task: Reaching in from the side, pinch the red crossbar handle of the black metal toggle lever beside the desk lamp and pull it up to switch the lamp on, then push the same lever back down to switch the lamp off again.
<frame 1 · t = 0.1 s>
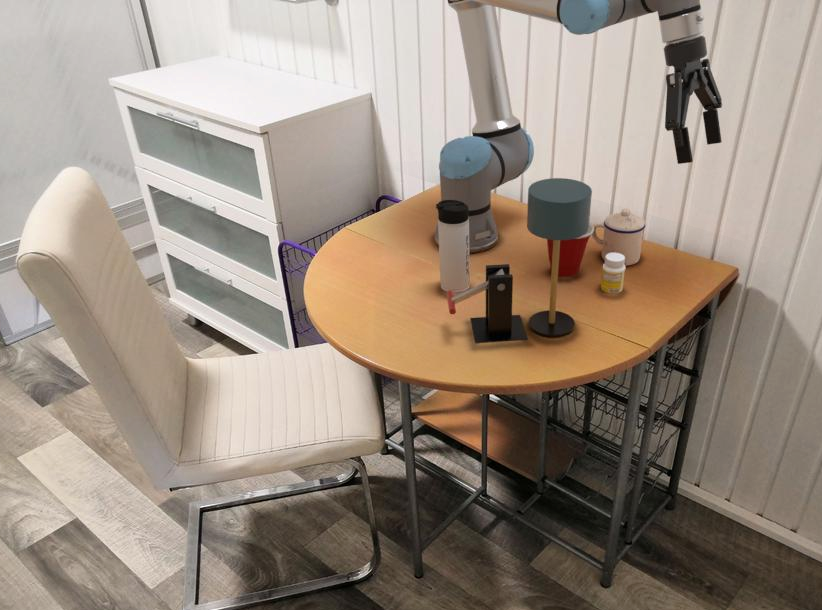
hand: (700, 152, 146), 28 cm above the table, tool tilted 20°, fingers open, 13 cm apart
switch base: (498, 333, 144), on the table
desk lamp: (551, 329, 145), on the table
plastic cup: (565, 275, 164), on the table
travel mug: (454, 291, 159), on the table
supplement bottle: (611, 293, 157), on the table
switch lever: (476, 289, 138), point 10 cm above the table, hinge at -25.0°
lidded enamel mug: (614, 257, 170), on the table
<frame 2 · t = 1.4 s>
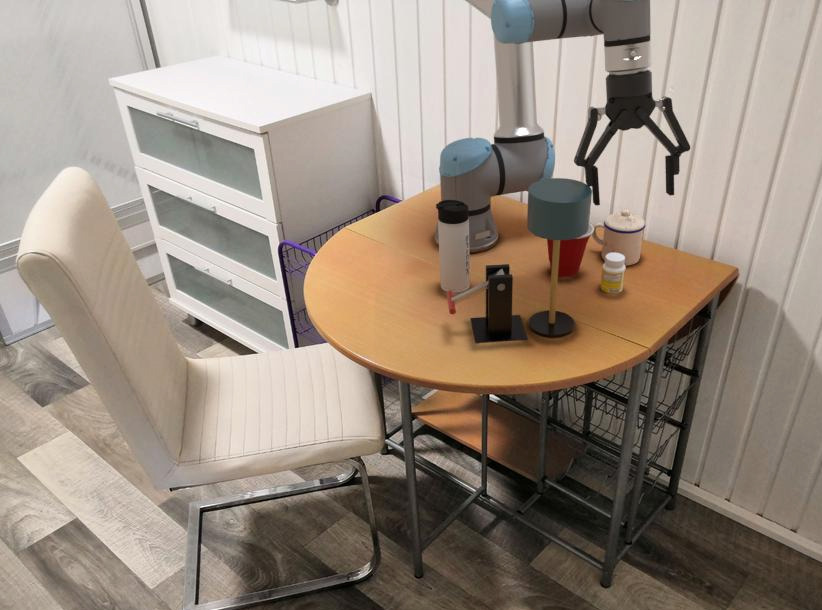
hand: (633, 199, 132), 26 cm above the table, tool pointing down, fingers open, 12 cm apart
nothing on the table moved.
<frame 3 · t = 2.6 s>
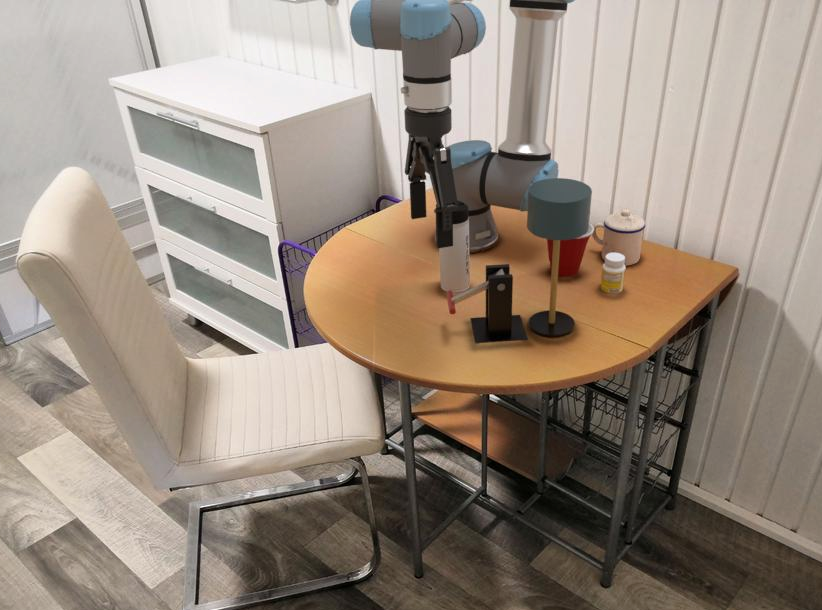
hand: (431, 231, 129), 23 cm above the table, tool pointing down, fingers open, 13 cm apart
nothing on the table moved.
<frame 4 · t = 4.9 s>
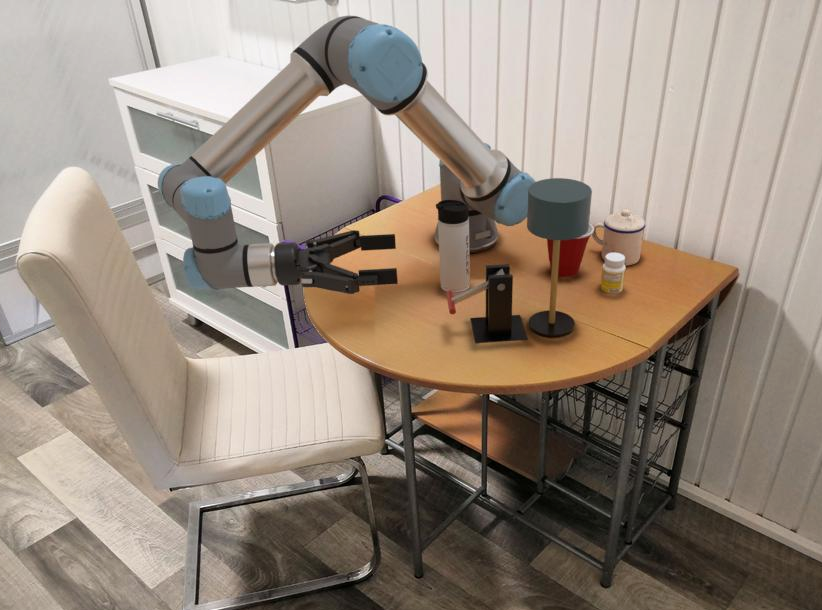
hand: (396, 258, 133), 18 cm above the table, tool horizontal, fingers open, 13 cm apart
nothing on the table moved.
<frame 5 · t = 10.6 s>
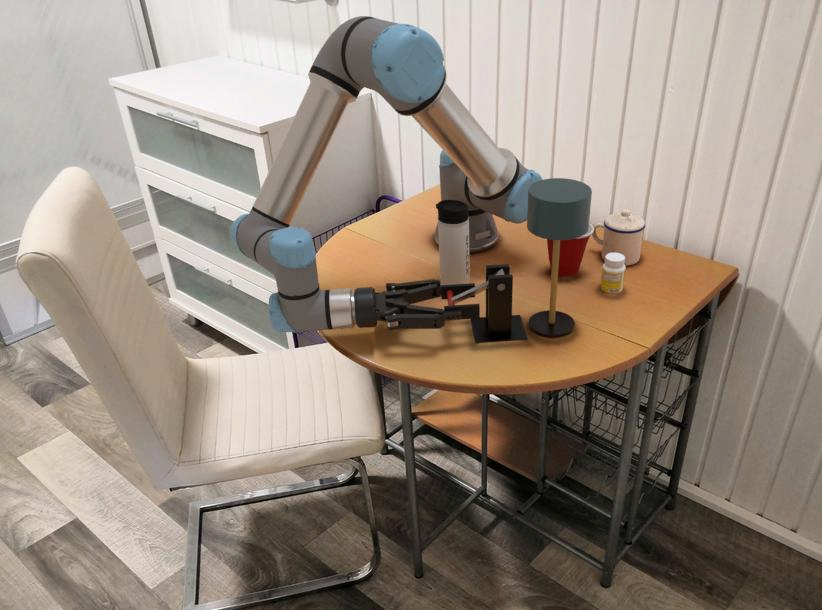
hand: (476, 300, 140), 8 cm above the table, tool horizontal, fingers closed on switch lever, 7 cm apart
switch lever: (476, 289, 138), point 10 cm above the table, hinge at -25.0°, touching gripper
everything else where it was.
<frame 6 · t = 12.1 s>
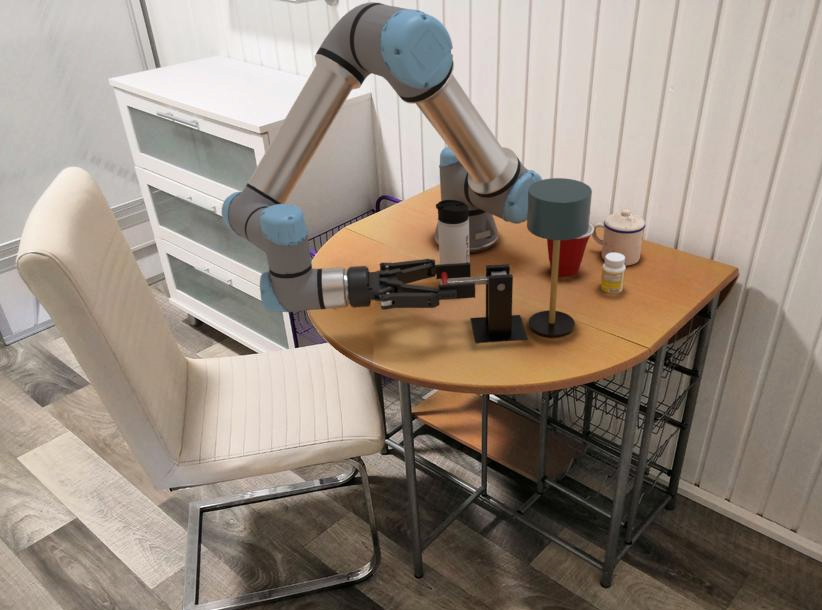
hand: (472, 279, 137), 12 cm above the table, tool horizontal, fingers closed on switch lever, 7 cm apart
switch lever: (474, 281, 137), point 12 cm above the table, hinge at -0.9°, touching gripper
everything else where it was.
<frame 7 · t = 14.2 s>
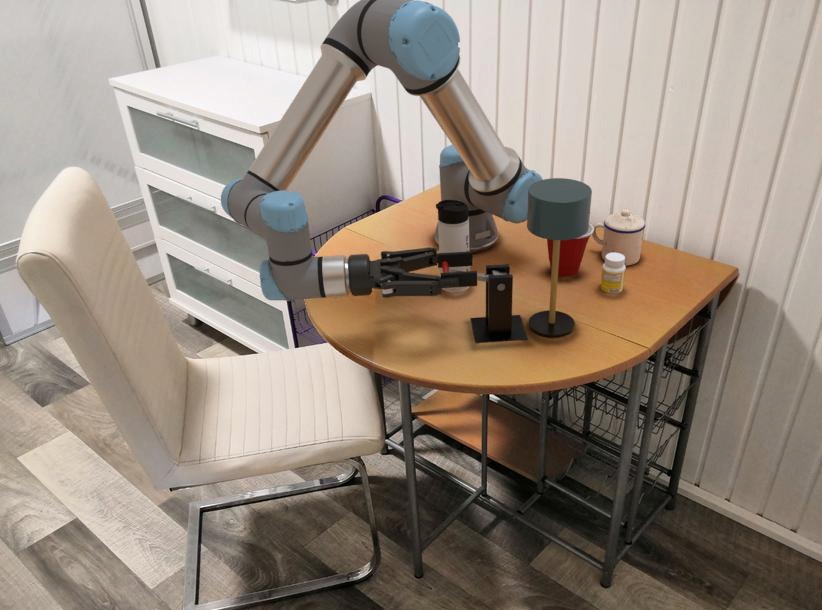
hand: (474, 268, 136), 15 cm above the table, tool horizontal, fingers closed on switch lever, 7 cm apart
switch lever: (474, 276, 137), point 13 cm above the table, hinge at 12.0°, touching gripper
everything else where it was.
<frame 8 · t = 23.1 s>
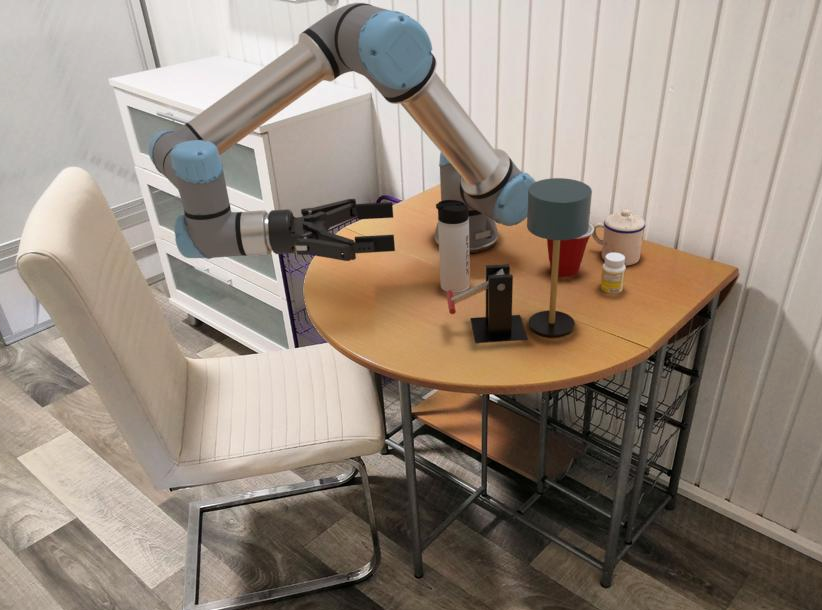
hand: (393, 225, 129), 24 cm above the table, tool horizontal, fingers open, 13 cm apart
switch lever: (476, 289, 138), point 10 cm above the table, hinge at -24.7°
everything else where it was.
at the end: switch lever reached +20° during the clip, -25° at the end; switch lever at -25° (first picture: -25°) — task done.
